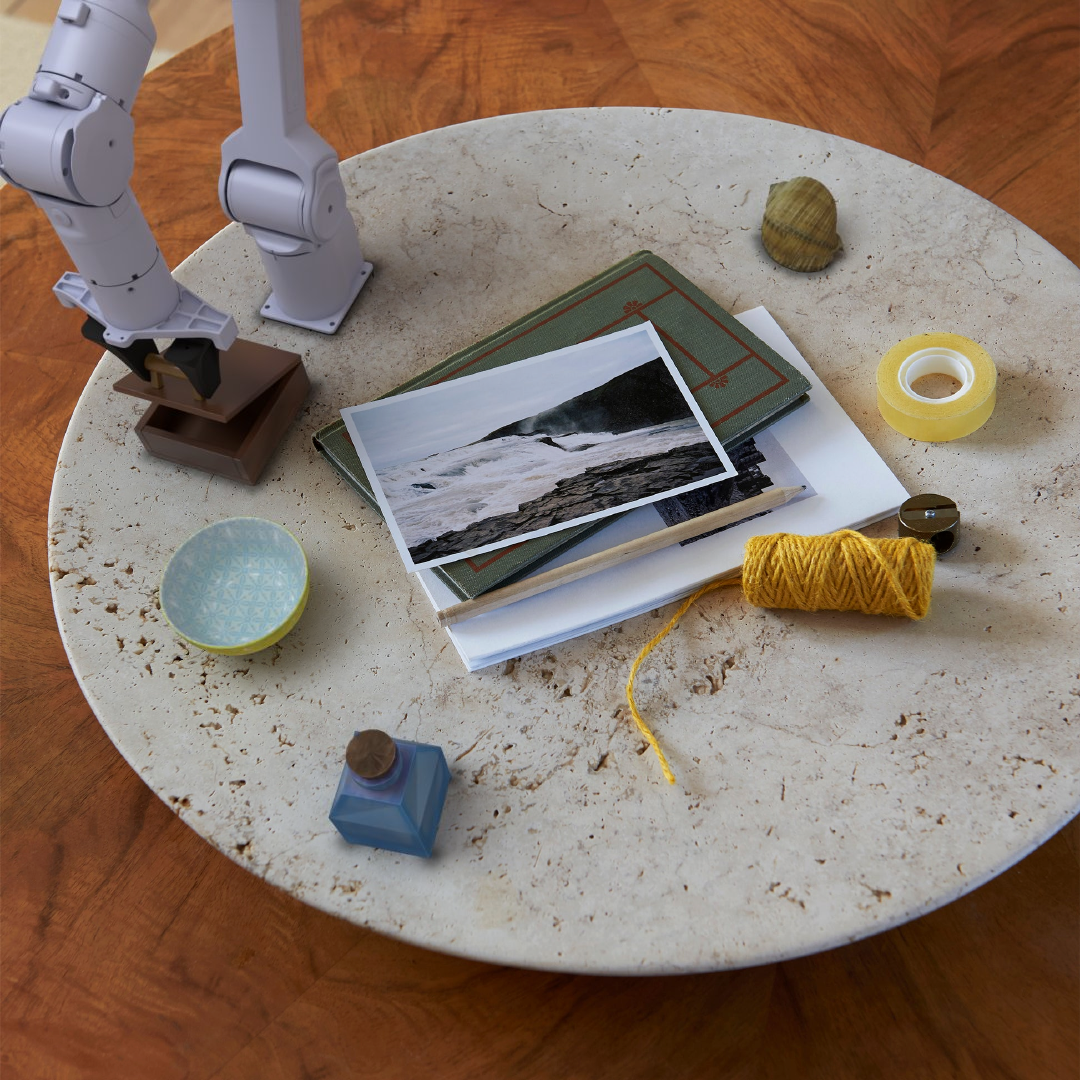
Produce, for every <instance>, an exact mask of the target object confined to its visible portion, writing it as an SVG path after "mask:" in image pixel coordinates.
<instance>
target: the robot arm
mask: <svg viewBox="0 0 1080 1080" xmlns="http://www.w3.org/2000/svg"><path fill="white" fill-rule="evenodd" d="M230 2H231V3H230V4H231V13H232V25H233V34H234V44H235V45H234V46H235V55H236V64H237V65H236V66H237V67H236V68H237V78H238V89H239V98H240V109H241V110H240V111H241V121H242V122H241V123H242V125H241V126H240V127H238V128H237V129H236V130H234V131H233V132H231V134H230V135H228V136H227V137H226V138H225V139H224V140H223V142H222V143H221V144H220V152H221V153H220V154H221V166H220V173H219V178H218V183H217V184H218V185H217V193H218V199H219V203H220V207H221V209H222V212H223V213H224V215H225V217H226V218H227V219H229V220H230V221H231V222H235V223H239V224H242V227H243V231H244V233H245V234H246V235H248V236H250V237H251V238H253V240H254V242H255V246H256V247H257V250H258V253H259V256H260V259H261V262H262V265H263V267H264V270H265V272H266V275H267V278H268V281H269V284H270V287H271V289H272V292H271V293H270V295H269V296H268V298H267V299H266V301H265V302H264V303H263V306H262V307H261V308H260V311H259V313H260V316H262V317H263V318H267V319H271V320H273V321H278V322H283V323H285V324H290V325H292V326H293V325H294V326H297V327H301V328H304V329H308V330H312V331H313V330H314V331H317V332H320V333H323V334H328V335H332V334H334V333H335V332H336V331H337V330H338V328H339V326H340V325H341V323H342V322H343V319H344V318H345V316H346V315H347V313H348V312H349V310H350V308H351V307H352V304H353V303H354V302H355V300H356V298H357V297H358V295H359V293H360V292H361V290H362V288H363V287H364V285H365V283H366V282H367V280H368V278H370V275H371V273H372V272H373V270H374V266H373V263H371V262H369V261H365V259H364V255H363V250H362V247H361V243H360V239H359V235H358V231H357V227H356V224H355V222H356V221H355V219H354V216H353V215H352V213H351V211H350V209H349V208H348V206H347V192H346V188H345V186H344V183H343V179H342V176H341V173H340V164H339V154H338V152H337V150H336V149H335V148H334V147H333V146H332V145H331V144H329V142H328V141H327V140H325V138H323V136H321V135H320V133H318V132H317V131H316V130H315V129H314V128H313V127H312V126H311V125H310V124H309V123H308V120H307V119H308V117H307V101H306V99H307V98H306V83H305V65H304V64H305V63H304V46H303V45H304V43H303V25H302V7H301V0H230ZM150 3H151V0H61V2H60V4H59V8H58V10H57V13H56V16H55V19H54V22H53V25H52V26H51V30H50V32H49V34H48V35H49V36H48V38H47V41H46V44H45V46H44V49H43V52H42V54H41V58H40V60H39V63H38V66H37V68H36V71H35V74H34V77H33V79H32V83H31V84H30V85H31V86H30V88H29V90H28V93H27V95H26V96H23V97H20V98H18V99H17V100H16V101H15V102H13V103H11V104H9V105H8V106H7V107H6V108H5V109H4V110H3V111H2V113H1V114H0V177H1V179H3V181H4V182H6V183H8V185H10V186H12V187H13V188H16V189H20V190H23V191H25V192H26V193H28V194H29V196H30V197H31V199H32V201H33V203H34V204H35V206H36V207H37V208H40V209H42V210H43V212H44V213H45V216H46V217H47V218H48V221H49V222H50V224H51V225H52V227H53V229H54V231H55V232H56V234H57V236H58V238H59V240H60V241H61V243H62V244H63V247H64V248H65V250H66V252H67V254H68V255H69V257H70V259H71V261H72V263H73V264H74V266H75V268H76V269H77V271H78V272H73V271H68V270H66V271H65V272H64V273H63V274H62V276H61V277H60V278H59V279H58V281H57V282H56V283H55V285H53V287H52V291H53V293H54V294H55V296H56V298H57V299H58V301H59V302H60V304H61V306H62V307H64V308H68V309H71V310H72V309H73V310H74V309H76V308H77V307H78V308H79V309H81V310H82V311H83V312H85V313H86V317H87V319H86V320H85V322H84V323H83V324H82V326H81V328H80V333H81V335H82V337H83V338H84V339H86V340H88V341H91V342H93V343H94V344H97V346H100V347H102V348H104V349H105V350H106V351H108V352H110V354H112V355H113V356H115V357H116V358H117V359H119V360H120V361H121V362H122V363H123V364H124V365H125V366H126V367H127V368H128V369H129V370H130V371H131V372H132V371H133V372H134V373H135V374H136V375H137V376H138V377H140V378H141V379H142V380H143V381H147V382H151V376H150V370H148V369H146V368H145V365H144V361H145V358H146V356H147V355H148V354H149V353H154V354H158V355H160V352H159V349H158V346H157V344H156V342H155V339H173V341H172V343H170V345H169V346H170V347H169V346H168V347H169V348H168V347H167V348H168V350H167V351H166V352H165V354H164V355H163V357H164V359H165V360H167V361H169V362H171V363H172V364H174V365H175V366H177V367H178V368H179V369H180V370H181V371H182V372H183V373H184V374H185V375H186V376H187V378H188V379H189V381H190V382H191V384H192V386H193V387H194V389H195V390H196V392H197V393H198V394H199V395H200V396H201V397H203V398H206V399H211V397H212V396H213V394H214V393H215V391H216V390H217V388H218V387H219V385H220V384H221V376H220V366H219V351H220V349H221V350H225V351H227V350H228V349H229V347H230V346H231V345H232V343H233V342H234V340H235V339H236V337H237V338H238V335H240V330H239V328H238V325H237V323H236V320H235V318H234V315H233V314H231V313H228V312H224V311H222V310H220V309H218V308H216V307H214V306H213V305H211V304H210V303H209V302H207V300H204V299H203V298H201V297H200V296H199V295H197V294H196V293H195V292H193V291H191V290H190V289H189V288H187V287H185V286H184V285H183V283H180V282H179V281H177V280H176V279H175V278H174V277H173V275H172V273H171V270H170V268H169V266H168V264H167V261H166V260H165V257H164V255H163V253H162V251H161V249H160V246H159V244H158V243H157V241H156V240H157V239H155V236H154V234H153V232H152V230H151V227H150V225H149V224H148V220H147V219H146V217H145V215H144V212H143V210H142V208H141V206H140V204H139V202H138V199H137V197H136V195H135V193H134V191H133V189H132V187H131V184H130V182H129V181H130V180H131V178H132V176H133V173H134V168H135V151H134V150H135V149H134V148H135V147H134V142H133V139H134V138H133V137H134V133H135V129H136V126H135V122H136V120H135V119H134V117H132V116H131V112H132V110H133V107H134V104H135V102H136V99H137V96H138V93H139V91H140V88H141V85H142V82H143V79H144V76H145V73H146V71H147V68H148V65H149V62H150V60H151V57H152V55H153V51H154V48H155V46H156V43H157V40H158V35H157V30H156V27H155V24H154V23H153V22H154V21H153V20H152V17H151V14H150V11H149V5H150Z"/></svg>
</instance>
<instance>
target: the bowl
mask: <svg viewBox="0 0 1080 1080" xmlns="http://www.w3.org/2000/svg"><path fill="white" fill-rule="evenodd" d="M310 573H311V572H310V567H309V561H308V558H307V555H306V552H305V550H304V548H303V546H302V544H301V543H300V541H299V539H298V538H297V537H296V536H295V534H293V533H292V532H291V531H290V530H288V528H286V527H285V526H283V525H281V524H280V523H278V522H276V521H274V520H271V519H268V518H262V517H259V516H252V515H251V516H250V515H240V516H233V517H227V518H224V519H220V520H217V521H215V522H214V521H213V522H212V523H209V524H207V525H205V526H203V527H201V528H200V529H198V530H196V531H195V532H193V533H192V534H191V535H189V536H188V537H187V538H186V539H184V541H182V542H181V544H179V545H178V547H176V549H175V550H174V552H173V553H172V554H171V555H170V557H169V559H168V560H167V562H166V564H165V566H164V568H163V570H162V573H161V576H160V580H159V585H158V601H159V605H160V609H161V613H162V614H163V616H164V618H165V621H166V622H167V623H168V625H169V626H170V627H171V629H172V630H173V631H174V632H175V633H176V634H177V635H178V636H179V637H181V638H182V639H183V640H185V642H187V643H189V644H190V645H192V646H193V647H196V648H198V649H200V650H203V651H205V652H208V653H211V654H214V655H215V654H216V655H221V656H222V655H223V656H244V655H245V656H246V655H250V654H254V653H258V652H260V651H263V650H264V649H267V648H269V647H271V646H273V645H275V644H276V643H277V642H279V641H280V640H282V639H283V638H284V637H285V636H286V635H287V634H289V632H290V631H291V630H292V629H293V628H294V627H295V626H296V624H297V623H298V621H299V620H300V618H301V617H302V615H303V613H304V610H305V608H306V605H307V602H308V599H309V594H310V586H311V585H310V584H311V574H310Z"/></svg>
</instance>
